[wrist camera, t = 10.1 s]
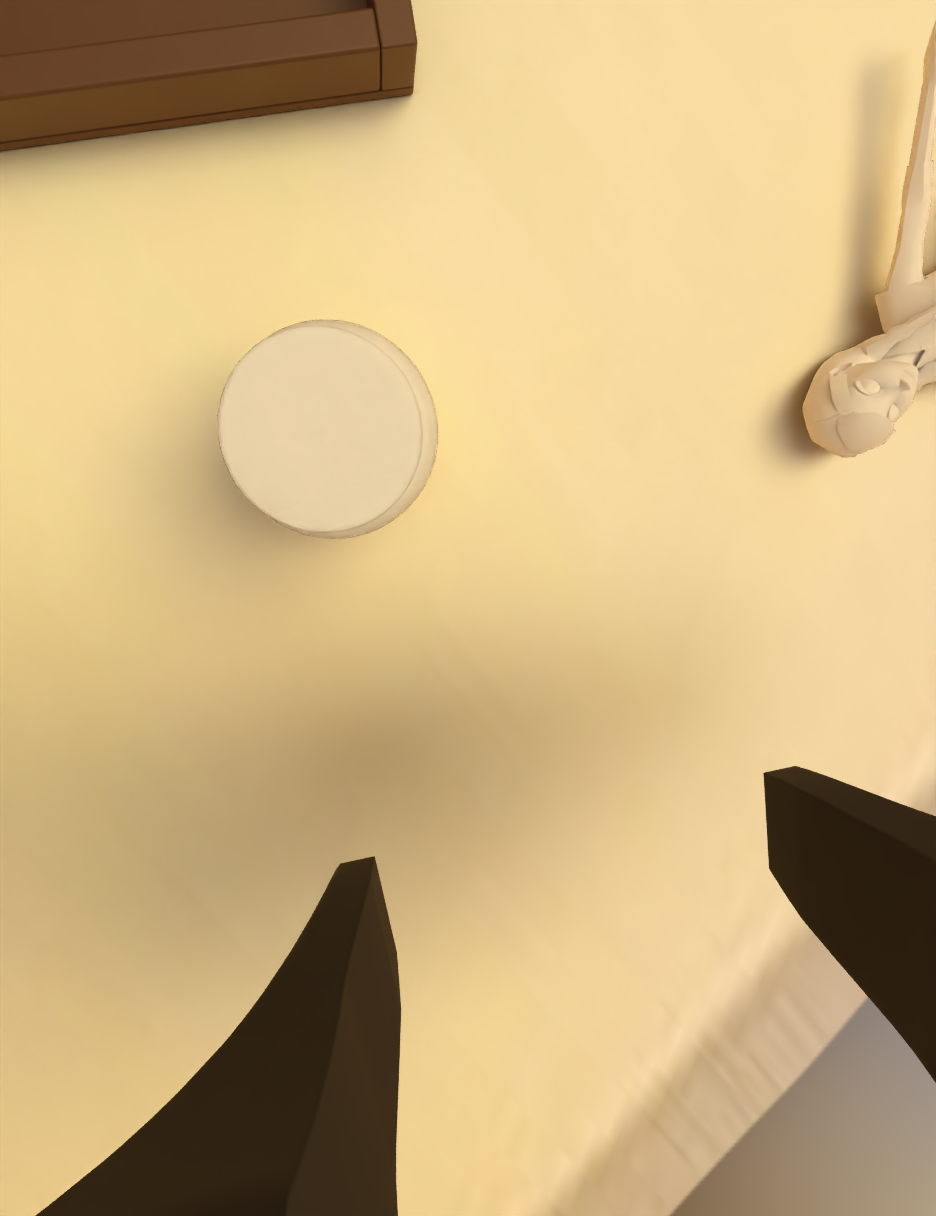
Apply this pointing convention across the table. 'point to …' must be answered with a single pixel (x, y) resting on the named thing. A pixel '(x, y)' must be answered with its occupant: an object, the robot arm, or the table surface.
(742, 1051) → the table surface
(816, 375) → the woman figurine
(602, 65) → the table surface
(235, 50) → the tray
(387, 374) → the pill bottle
